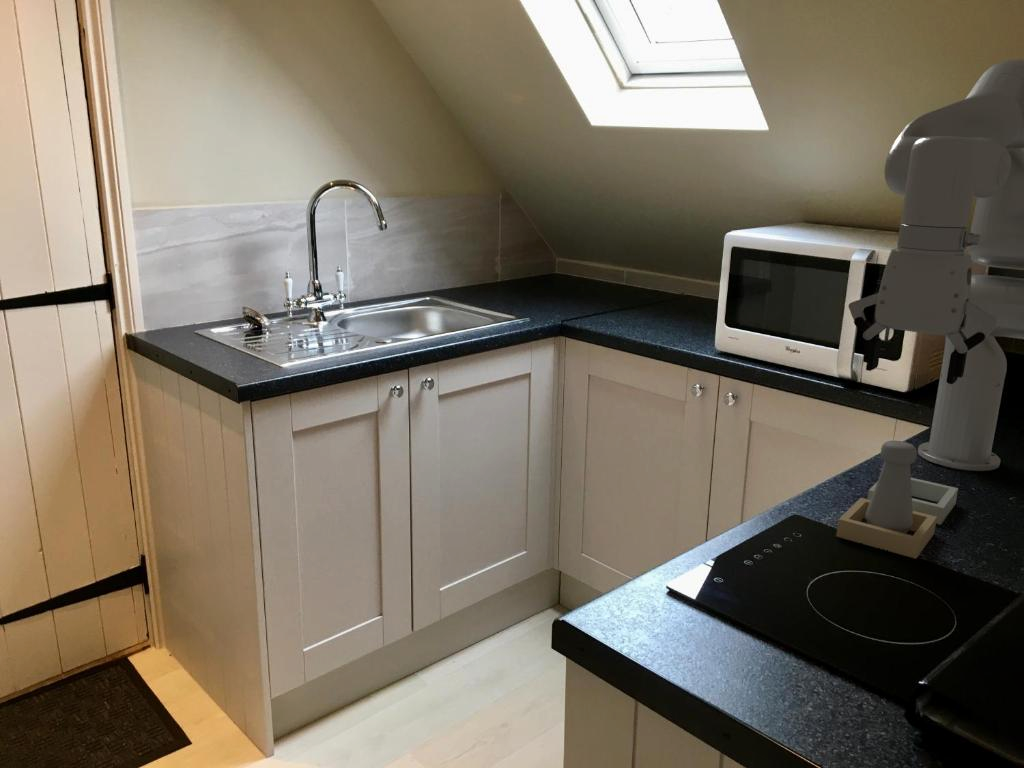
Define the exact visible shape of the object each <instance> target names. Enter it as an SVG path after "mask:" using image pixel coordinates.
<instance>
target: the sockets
mask: <svg viewBox="0 0 1024 768" xmlns="http://www.w3.org/2000/svg"><path fill="white" fill-rule="evenodd" d="M876 484H877V482H875V483H874V484H873V485H872V486H871V487H870V488H869V489H868V492H867V498H863V497H860V498H859V499H858V500H857V501H856V502H855V503H853V504H852V505H851V506H850V507H849V508H848V509H847V511H845V513H843V514H842V515H841V516H840V517H839V518H838V520H837V526H836V527H837V529H836V537H837V538H840V539H844V540H847V541H850V542H851V541H852V542H854V543H858V544H861V543H862V544H861V545H866V546H870V547H872V548H876V549H879V548H880V550H883V549H884V550H883V551H887V550H888V552H891V553H894V554H898V555H901V556H905V557H908V558H912V559H917V558H918V557H919V556H920V554H921V553H922V551H923V550H924V548H925V547H926V546H927V544H928V543H929V542H930V540H932V537H933V536H934V535H935V530H936V525H940V526H941V525H942V524H943V523H944V521H945V520H946V519H947V517H948V515H949V514H950V513H951V511H952V510H953V508H954V507H955V505H956V503H957V498H958V491H959V488H958V487H954V486H949V485H944V484H941V483H937V482H933V481H928V480H923V479H918V478H914V477H911V491H912V510H913V524H912V526H911V527H910V529H909V530H908V531H911V532H914V533H913V535H912V534H907V533H906V534H904V533H900V532H896V531H893V530H889V529H885V528H881V527H877V526H874V525H870V524H868V523H866V522H862V521H863V520H864V519H865V520H866V511H867V509H868V506H869V503H870V501H871V498H872V495H873V493H874V490H875V487H876ZM913 497H914V498H913ZM921 499H924V500H921ZM926 500H927V501H926ZM929 501H931V502H929ZM933 502H934V503H933Z"/></svg>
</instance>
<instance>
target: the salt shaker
mask: <svg viewBox="0 0 1024 768" xmlns="http://www.w3.org/2000/svg"><path fill="white" fill-rule="evenodd" d="M917 456H918V448H916V447H915V446H914V445H913V444H911V443H909V442H906V441H901V440H887V441H885V442H884V443H883V444H882V446H881V447H880V457H881V459H882V460H884V462H883V466H882V469H881V470H880V471H881V472H880V474H879V477H878V479H877V481H876V483H877V484H876V487H875V490H874V493H873V495H872V498H871V501H870V503H869V506H868V509H867V511H866V519H865V520H866V522H867V523H866V524H870V525H874V526H877V527H881V528H885V529H889V530H893V531H896V532H900V533H904V534H907V533H908V532H909V531H910V530H909V529H910V527H911V526H912V524H913V510H912V498H913V496H912V491H911V478H912V473H911V472H912V471H911V464H914V463H915V462H916V459H917Z"/></svg>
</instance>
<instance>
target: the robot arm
mask: <svg viewBox="0 0 1024 768" xmlns="http://www.w3.org/2000/svg"><path fill="white" fill-rule="evenodd" d="M1023 149H1024V58H1021V59H1020V58H1019V59H1017V58H1016V59H1010V60H1006V61H1005V60H1004V61H1002V62H998V63H996V64H994V65H992V66H990V67H989V68H988V69H987V70H986V71H984V72H983V73H982V75H981V76H980V77H979V78H978V80H977V81H976V83H975V85H974V86H973V87H972V89H971V90H970V92H968V94H967V96H966V97H965V98H964V99H961V100H958V101H955V102H952V103H950V104H948V105H945V106H942V107H939V108H937V109H934V110H931V111H929V112H926V113H924V114H922V115H919V116H918V117H916V118H915V119H912V121H911V122H909V123H908V124H907V125H906V126H905V127H904V128H903V129H902V131H901V132H900V134H899V135H898V136H897V138H896V139H895V140H894V142H893V144H892V145H891V148H890V149H889V152H888V153H887V157H886V158H885V159H886V160H885V164H884V172H883V173H884V180H885V182H886V185H887V186H888V188H889V189H890V190H891V191H892V192H893V193H895V194H898V195H901V196H904V199H903V204H902V211H901V219H900V225H899V231H898V232H899V233H898V238H897V239H898V240H897V246H896V248H892V249H891V250H890V253H889V255H888V258H887V261H886V265H885V268H884V269H883V270H884V271H883V275H882V278H881V282H880V287H879V291H878V292H877V293H874V294H871V295H868V296H866V297H863V298H861V299H857V300H855V301H852V302H850V303H849V304H848V309H849V311H850V312H849V313H850V315H851V318H852V319H853V323H854V325H855V327H856V328H857V329H858V330H859V332H860V333H861V334H862V337H863V339H864V340H865V343H864V351H863V358H862V361H863V363H865V364H866V365H865V371H867V372H871V371H874V370H875V369H877V368H878V366H879V361H880V355H881V347H882V338H881V337H880V335H881V333H882V332H883V331H885V330H886V329H892V330H898V331H899V330H900V331H904V332H906V331H907V332H913V333H920V334H928V335H936V336H945V343H944V349H943V350H944V351H943V357H942V363H941V370H940V376H939V382H938V387H937V393H936V400H935V405H934V411H933V412H934V413H933V418H932V424H931V431H930V436H929V437H930V438H929V441H926V442H924V443H921V444H919V446H918V447H917V454H918V455H919V456H920V457H921V458H922V459H925V460H926V461H928V462H930V463H933V464H936V465H940V466H943V467H946V468H951V469H957V470H962V471H973V472H987V471H993V470H996V469H998V468H999V467H1000V466H1001V465H1000V464H1001V458H1000V457H999V456H998V455H997V454H996V453H994V452H992V448H993V444H994V438H995V432H996V427H997V422H998V417H999V412H1000V411H999V410H1000V406H1001V401H1002V394H1003V390H1004V385H1005V378H1006V375H1007V371H1008V370H1007V369H1008V368H1007V367H1008V364H1007V363H1008V362H1007V358H1006V355H1005V352H1004V351H1003V349H1002V347H1001V346H1000V344H999V343H998V342H997V340H996V337H1005V338H1013V339H1020V340H1024V278H1017V277H1011V276H1004V275H1003V276H1000V275H991V274H973V273H972V271H973V269H972V268H973V267H972V266H973V265H972V262H974V263H975V264H977V265H981V266H984V267H992V268H999V269H1007V270H1008V269H1010V270H1011V269H1012V270H1019V271H1024V150H1023ZM973 199H974V200H975V199H976V202H975V207H974V212H973V217H972V222H971V227H969V223H970V217H971V212H972V205H973ZM967 248H968V249H967ZM965 250H967V251H968V253H965ZM873 305H875V312H874V320H875V322H874V323H873V324H872V323H871V322H870V320H869V319H868V318H867V317H866V316H865V312H864V310H865V308H867V307H870V306H873Z"/></svg>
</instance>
